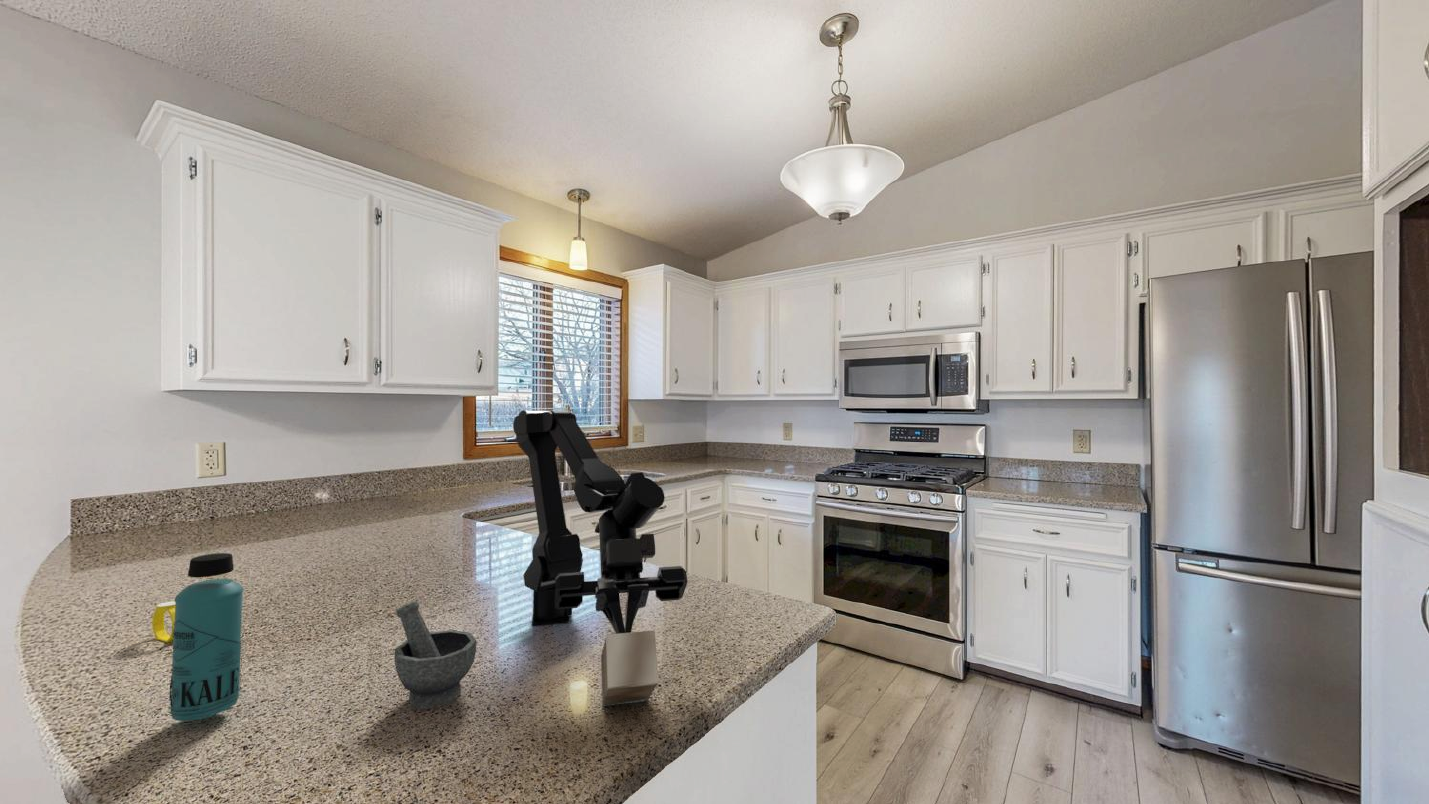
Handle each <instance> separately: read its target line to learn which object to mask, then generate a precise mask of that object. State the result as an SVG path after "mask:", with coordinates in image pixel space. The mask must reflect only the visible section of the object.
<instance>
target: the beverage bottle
mask: <svg viewBox="0 0 1429 804" xmlns="http://www.w3.org/2000/svg"><path fill="white" fill-rule="evenodd" d="M188 566H189V569H188V571H187V576H188V577H189V578H208V577H209V578H210V577H216V576H221V575H225V574H229V573H231V572H233V571H234V566H235V565H234V560H233V554H232V553H227V552H225V553H224V552H221V553H209V554H203V555H198V556H194V557H193V558H191V559H190V560H189V565H188ZM243 593H244V586H243V585H242V584H240V583H238V582H237V581H235V580H233V579H231V578H230V579H229V578H213V579H208V580H207V579H206V580H202V581H197V582H193V583H192V584H188V585H187V586H186V587H184V588H182V590H181V591H180V592H179V593H178V594H176V596H175V598H174V601H175V622H174V624H173V625H174V629H173V628H172V627H171V630H172V629H173V630H174V632H173V633H174V637H173V634H172V637H173V641H172V642H170V643H171V644H172V650H170V651H171V655H172V664H171V665H172V666H171V667H170V673H171V676H170V683H169V696H168V697H169V698H168V702H169V705H170V706H168V707H169V708H168V710H170V711H168V713H169V714H170V716H171V718H172V719H173V720H175V721H178V722H179V721H180V722H190V721H196V720H200V719H204V718H209V717H212V716H215V715H217V714H220V713H222V712H225V711H227V710H228V709H230V708H231V707H232V708H233V706H234V705H235V704H236V703H237V701H238V700H239V697H240V696H241V694H242V692H241V690H242V689H241V688H242V687H241V686H242V684H241V680H242V670H241V669H242V665H241V661H243V659H242V658H243V657H242V655H243V652H242V648H243V643H242V615H243Z"/></svg>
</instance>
